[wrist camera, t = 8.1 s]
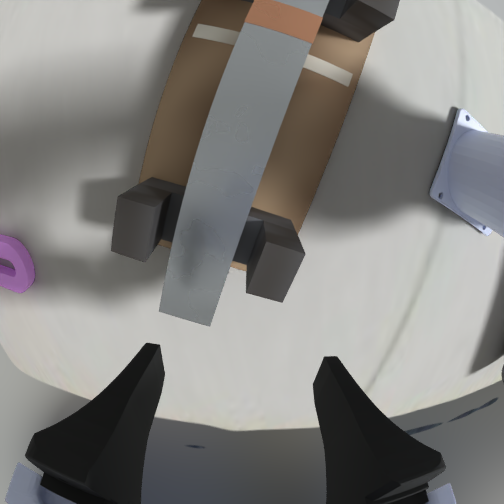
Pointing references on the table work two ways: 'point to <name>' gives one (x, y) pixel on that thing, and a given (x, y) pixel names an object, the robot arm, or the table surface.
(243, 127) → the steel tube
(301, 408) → the table surface
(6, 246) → the bracket
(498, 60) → the table surface
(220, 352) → the table surface
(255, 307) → the table surface
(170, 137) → the board
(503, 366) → the bluetooth speaker
